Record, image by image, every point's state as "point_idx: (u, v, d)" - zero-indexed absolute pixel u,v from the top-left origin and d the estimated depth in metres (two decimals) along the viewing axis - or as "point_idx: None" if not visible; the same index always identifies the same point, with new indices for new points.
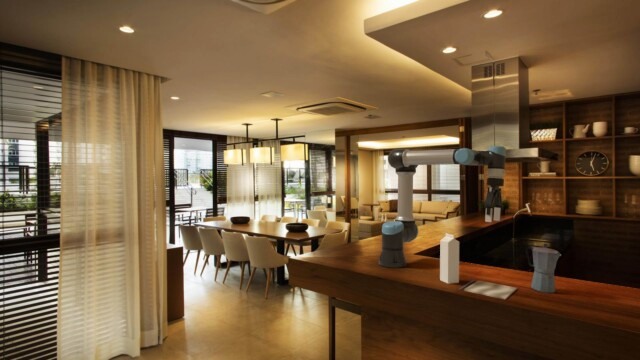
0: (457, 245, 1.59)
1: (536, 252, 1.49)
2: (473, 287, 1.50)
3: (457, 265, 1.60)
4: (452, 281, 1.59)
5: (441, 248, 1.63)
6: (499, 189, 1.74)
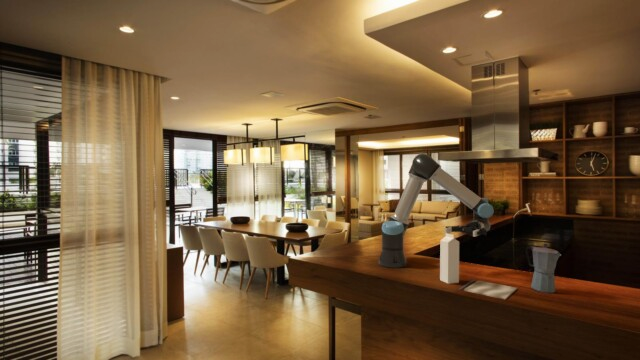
0: (457, 245, 1.59)
1: (536, 252, 1.49)
2: (473, 287, 1.50)
3: (457, 265, 1.60)
4: (452, 281, 1.59)
5: (441, 248, 1.63)
6: None
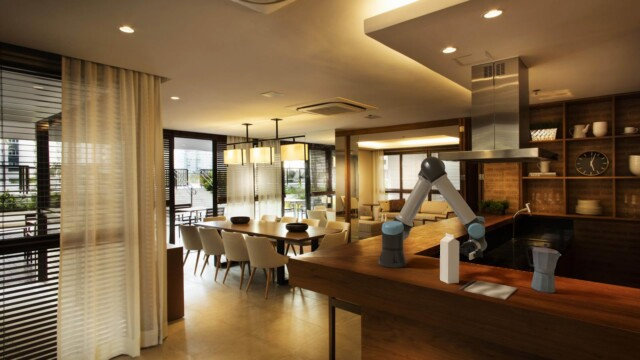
0: (457, 245, 1.59)
1: (536, 251, 1.49)
2: (473, 287, 1.50)
3: (457, 265, 1.60)
4: (452, 281, 1.59)
5: (441, 248, 1.63)
6: None
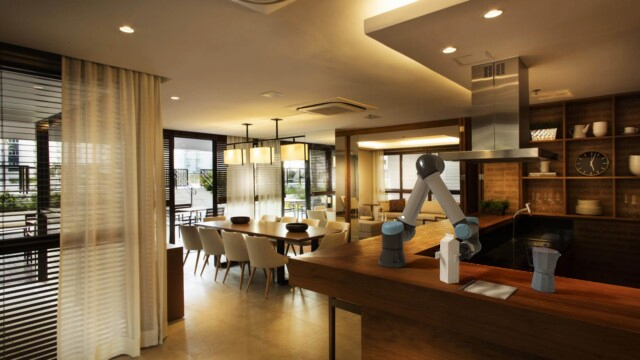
0: (457, 245, 1.59)
1: (536, 251, 1.49)
2: (473, 287, 1.50)
3: (457, 265, 1.60)
4: (452, 281, 1.59)
5: (441, 248, 1.63)
6: None
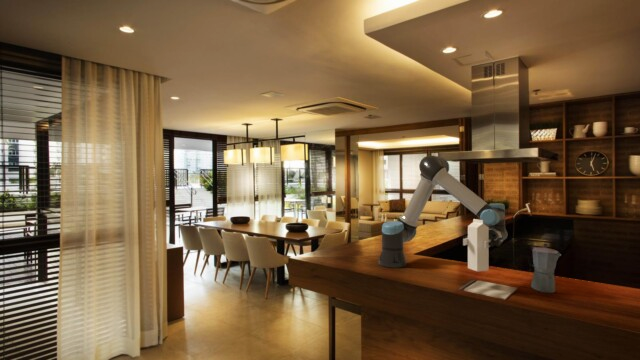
0: (486, 231, 1.51)
1: (536, 251, 1.49)
2: (473, 287, 1.50)
3: (486, 252, 1.51)
4: (481, 269, 1.50)
5: (469, 234, 1.54)
6: None
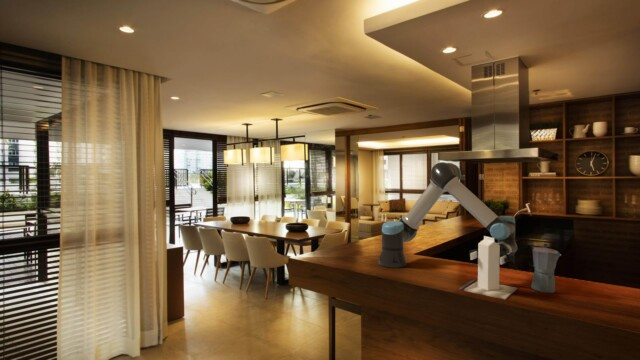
0: (498, 249, 1.48)
1: (536, 251, 1.49)
2: (473, 287, 1.50)
3: (497, 270, 1.48)
4: (492, 288, 1.47)
5: (479, 252, 1.51)
6: None
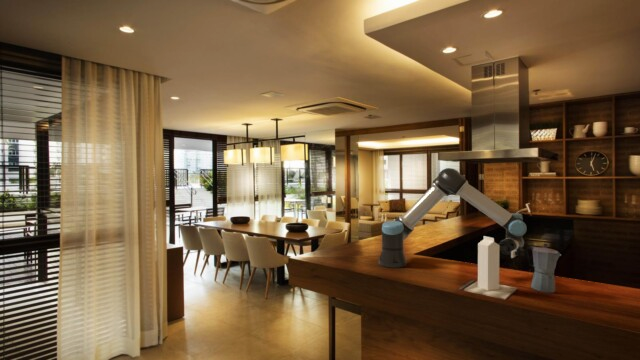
0: (497, 249, 1.48)
1: (536, 251, 1.49)
2: (473, 287, 1.50)
3: (497, 270, 1.48)
4: (492, 288, 1.47)
5: (479, 252, 1.51)
6: None
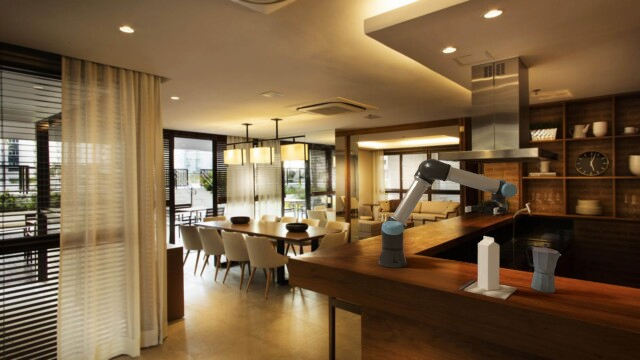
0: (497, 249, 1.48)
1: (536, 251, 1.49)
2: (473, 287, 1.50)
3: (497, 270, 1.48)
4: (492, 288, 1.47)
5: (479, 252, 1.51)
6: None
